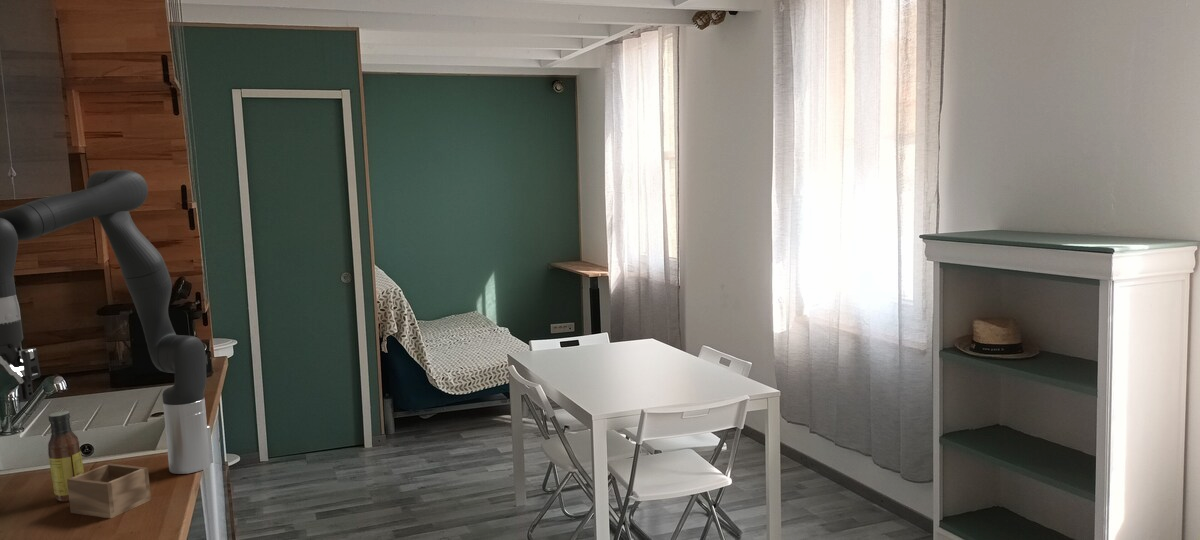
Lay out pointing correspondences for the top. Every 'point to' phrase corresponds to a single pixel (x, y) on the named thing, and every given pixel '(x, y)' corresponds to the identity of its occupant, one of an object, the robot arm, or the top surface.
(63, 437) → the sauce bottle
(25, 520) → the top surface
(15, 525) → the top surface
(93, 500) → the box
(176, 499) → the top surface
